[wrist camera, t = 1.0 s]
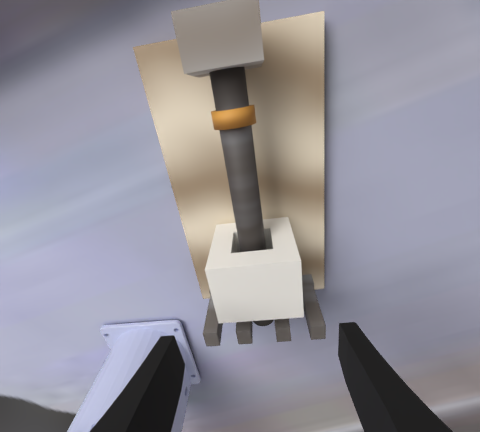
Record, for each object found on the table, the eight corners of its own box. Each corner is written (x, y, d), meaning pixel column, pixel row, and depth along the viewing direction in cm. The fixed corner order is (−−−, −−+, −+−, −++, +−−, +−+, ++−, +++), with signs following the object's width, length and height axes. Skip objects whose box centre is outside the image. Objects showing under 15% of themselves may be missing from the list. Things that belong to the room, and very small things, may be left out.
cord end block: (291, 263, 19) (303, 317, 14) (226, 270, 19) (218, 323, 15) (288, 216, 17) (301, 260, 13) (216, 224, 18) (204, 269, 13)
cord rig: (321, 280, 21) (343, 341, 16) (205, 290, 22) (191, 351, 17) (319, 16, 13) (362, -32, 8) (140, 50, 14) (77, 26, 9)
